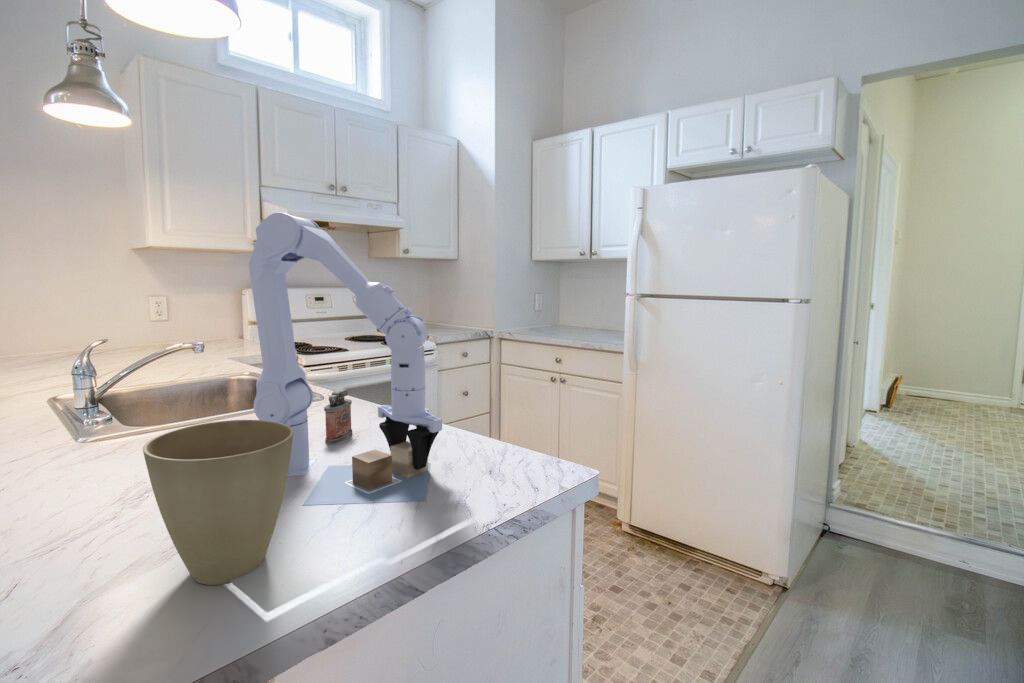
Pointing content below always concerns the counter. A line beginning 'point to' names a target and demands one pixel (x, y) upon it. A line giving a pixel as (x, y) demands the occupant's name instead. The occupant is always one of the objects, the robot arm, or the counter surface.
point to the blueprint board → (342, 490)
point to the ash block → (404, 460)
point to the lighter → (338, 417)
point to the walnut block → (372, 469)
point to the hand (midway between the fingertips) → (409, 464)
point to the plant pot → (220, 492)
